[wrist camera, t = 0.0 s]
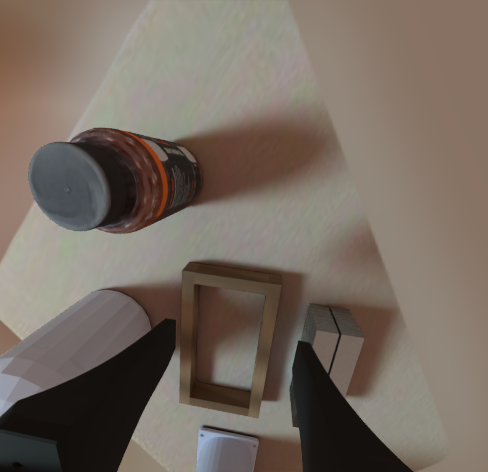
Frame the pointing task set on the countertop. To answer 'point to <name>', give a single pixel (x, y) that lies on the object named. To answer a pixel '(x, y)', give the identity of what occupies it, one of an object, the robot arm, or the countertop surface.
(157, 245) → the countertop surface
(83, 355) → the soap bottle
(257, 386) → the brown rectangular open frame
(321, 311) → the grooved grey block
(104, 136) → the supplement bottle
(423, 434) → the countertop surface
